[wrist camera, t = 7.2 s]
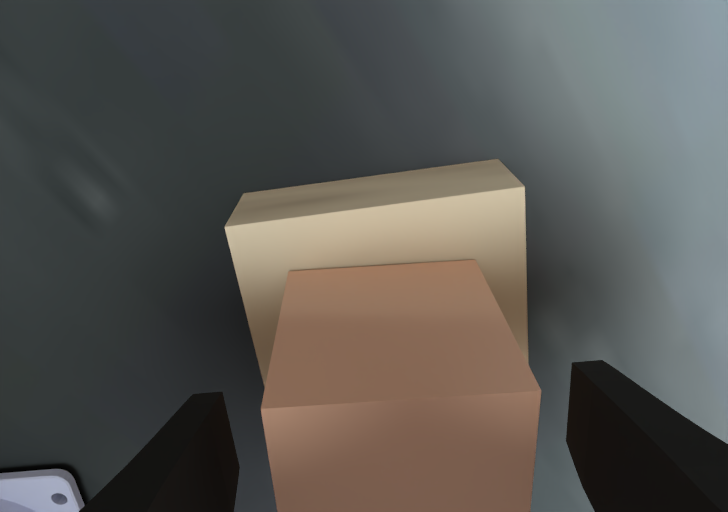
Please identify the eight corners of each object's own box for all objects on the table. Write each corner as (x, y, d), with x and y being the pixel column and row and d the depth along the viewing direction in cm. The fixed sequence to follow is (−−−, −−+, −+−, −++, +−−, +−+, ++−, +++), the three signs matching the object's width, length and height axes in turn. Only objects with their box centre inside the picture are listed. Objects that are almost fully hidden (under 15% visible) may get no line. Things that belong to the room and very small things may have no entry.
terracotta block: (470, 408, 16) (523, 578, 11) (306, 419, 15) (291, 595, 11) (475, 259, 14) (541, 390, 9) (288, 271, 14) (261, 408, 9)
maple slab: (503, 364, 19) (529, 426, 16) (291, 390, 19) (281, 456, 16) (494, 155, 16) (525, 186, 13) (246, 189, 16) (224, 226, 13)
